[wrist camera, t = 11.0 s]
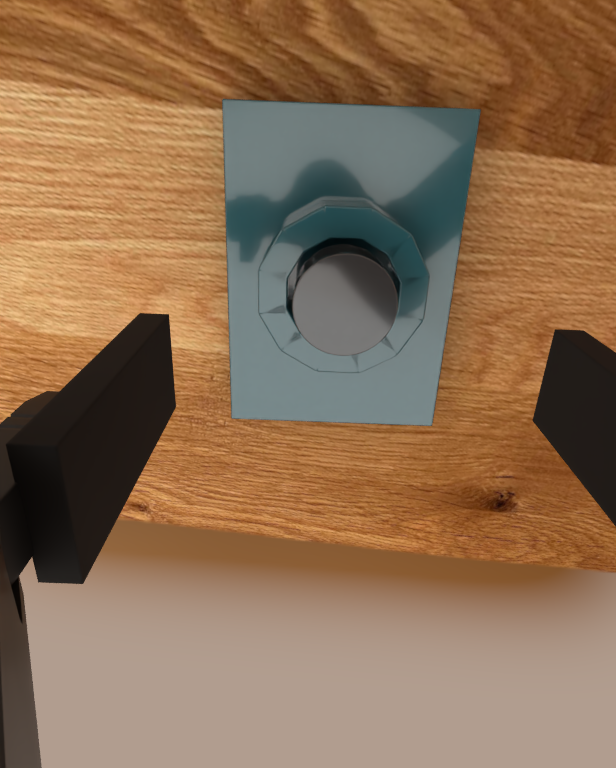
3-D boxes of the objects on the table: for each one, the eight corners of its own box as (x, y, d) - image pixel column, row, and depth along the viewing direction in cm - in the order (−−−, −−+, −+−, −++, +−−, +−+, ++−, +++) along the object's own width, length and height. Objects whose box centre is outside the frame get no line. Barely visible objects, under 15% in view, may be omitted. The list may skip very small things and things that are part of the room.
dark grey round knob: (385, 340, 22) (392, 358, 21) (292, 336, 22) (290, 354, 21) (395, 245, 21) (403, 255, 19) (295, 241, 21) (293, 251, 19)
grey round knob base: (424, 408, 28) (441, 447, 24) (236, 401, 28) (224, 439, 24) (467, 111, 22) (497, 105, 18) (229, 102, 22) (212, 94, 18)
